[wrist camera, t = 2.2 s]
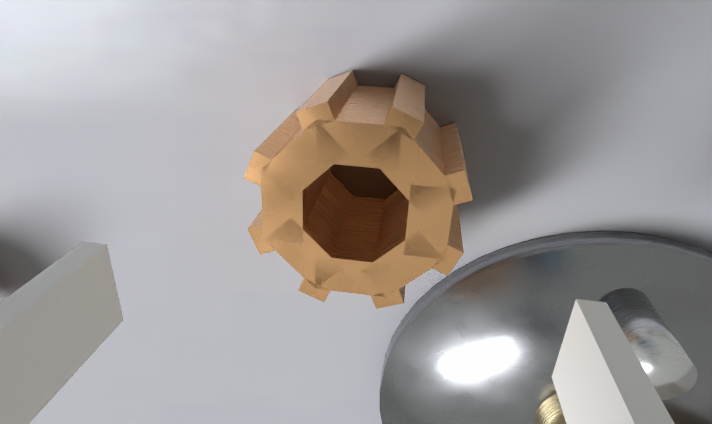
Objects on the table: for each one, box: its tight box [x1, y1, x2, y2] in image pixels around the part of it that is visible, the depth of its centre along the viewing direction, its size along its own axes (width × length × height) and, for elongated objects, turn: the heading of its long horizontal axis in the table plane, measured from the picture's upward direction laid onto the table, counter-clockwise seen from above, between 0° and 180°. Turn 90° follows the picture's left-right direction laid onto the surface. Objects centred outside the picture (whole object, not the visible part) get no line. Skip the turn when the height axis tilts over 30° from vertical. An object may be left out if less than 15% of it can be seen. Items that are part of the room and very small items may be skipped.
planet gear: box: [244, 70, 473, 309], centre depth 20 cm, size 8×8×6 cm
